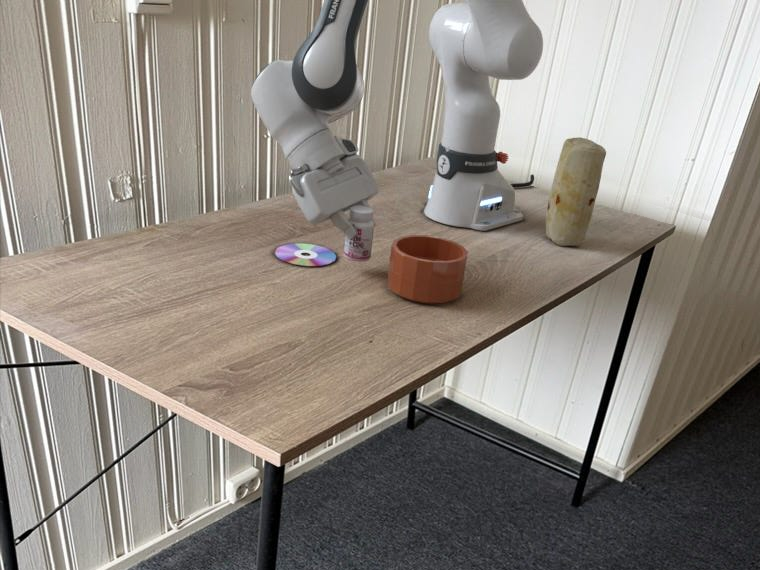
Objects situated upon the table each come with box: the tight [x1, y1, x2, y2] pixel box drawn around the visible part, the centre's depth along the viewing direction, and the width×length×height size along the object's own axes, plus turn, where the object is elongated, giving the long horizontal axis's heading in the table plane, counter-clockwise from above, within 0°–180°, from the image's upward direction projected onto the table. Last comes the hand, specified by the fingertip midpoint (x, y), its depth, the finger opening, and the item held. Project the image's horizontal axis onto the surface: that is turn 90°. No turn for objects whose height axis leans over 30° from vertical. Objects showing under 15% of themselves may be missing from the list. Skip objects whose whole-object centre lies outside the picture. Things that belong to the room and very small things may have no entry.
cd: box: [274, 242, 337, 267], centre depth 151 cm, size 11×11×1 cm
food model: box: [545, 137, 607, 247], centre depth 167 cm, size 10×7×20 cm
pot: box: [386, 234, 469, 304], centre depth 141 cm, size 13×13×8 cm
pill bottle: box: [343, 205, 375, 262], centre depth 143 cm, size 5×5×8 cm
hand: (363, 232), depth 143 cm, fingers closed on pill bottle, 5 cm apart
